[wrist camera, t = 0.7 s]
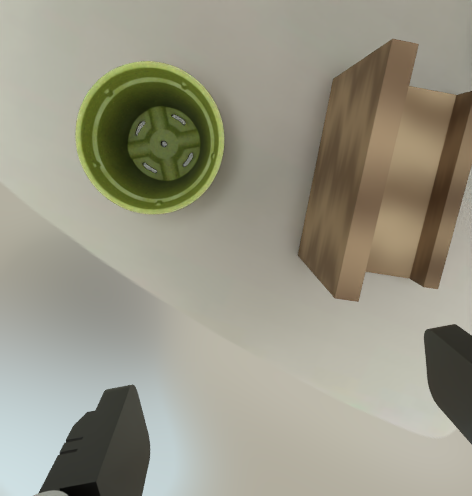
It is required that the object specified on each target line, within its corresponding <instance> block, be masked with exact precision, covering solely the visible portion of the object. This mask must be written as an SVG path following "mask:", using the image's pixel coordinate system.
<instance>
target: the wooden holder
mask: <svg viewBox="0 0 472 496" xmlns="http://www.w3.org/2000/svg"><path fill="white" fill-rule="evenodd" d="M418 45H419V44H416V43H411V42H406V41H401V40H396V39H392V40H390V41H389V42H387V43H386V44H384V45H383V46H381V47H380V48H378V49H377V50H375V51H374V52H372V53H371V54H369V55H368V56H367V57H365V58H364V59H362V60H361V61H359V62H358V63H356V64H355V65H353V66H352V67H350V68H349V69H347V70H346V71H344V72H343V73H341V74H340V75H338V76H337V77H335V78H334V79H333V82H332V87H331V92H330V97H329V102H328V107H327V112H326V117H325V122H324V127H323V132H322V137H321V142H320V147H319V152H318V157H317V162H316V167H315V172H314V177H313V182H312V187H311V192H310V197H309V202H308V207H307V212H306V217H305V222H304V227H303V231H302V236H301V241H300V246H299V251H298V256H299V257H300V259H301V260H302V261H303V262H304V263H305V264H306V266H307V267H308V268H309V269H310V270H311V271H312V272H313V274H314V275H315V276H316V277H317V278H318V279H319V281H320V282H321V283H322V284H323V285H324V286H325V287H326V289H327V290H328V291H329V292H330V293H331V294H332V296H333V297H334V298H337V299H343V300H350V301H357V302H358V301H359V297H360V292H361V288H362V284H363V280H364V275H365V272H371V273H378V274H384V275H391V276H397V277H404V278H410V279H411V280H413V281H415V282H416V283H418V284H419V285H421V286H423V287H427V288H433V289H438V287H439V283H440V280H441V276H442V272H443V269H444V265H445V261H446V258H447V254H448V250H449V246H450V243H451V239H452V235H453V232H454V228H455V224H456V221H457V217H458V213H459V209H460V206H461V202H462V198H463V195H464V191H465V187H466V184H467V180H468V176H469V173H470V169H471V165H472V91H470V92H466V93H463V94H459V95H453V94H448V93H443V92H438V91H432V90H427V89H422V88H417V87H412V86H409V83H410V79H411V75H412V71H413V66H414V62H415V58H416V54H417V49H418Z"/></svg>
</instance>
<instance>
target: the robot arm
mask: <svg viewBox="0 0 472 496" xmlns="http://www.w3.org/2000/svg"><path fill="white" fill-rule="evenodd" d="M424 344H425V355H426V366H427V378H428V385H429V389H430V392H431V395H432V397H433V399H434V401H435V402H436V404H437V405H438V407H439V408H440V409H441V410H442V411H443V412H444V413H445V414H446V416H447V417H448V418H449V419H450V420H451V421H452V422H453V424H454V425H455V426H456V427H457V428H458V429H459V430H460V432H461V433H462V434H463V435H464V436H465V437H466V438H467V440H468V441H469V442H470V443H471V444H472V336H471V335H470V334H469V333H467V332H466V331H464V330H463V329H462V328H460V327H459V326H457V325H455V324H453V325H447V326H442V327H437V328H432V329H427V330H426V331H425V333H424ZM149 460H150V441H149V435H148V431H147V427H146V423H145V419H144V415H143V411H142V408H141V404H140V400H139V396H138V393H137V390H136V387H135V386H134V385H128V386H123V387H118V388H112V389H107V390H105V391H104V393H103V395H102V397H101V400H100V402H99V404H98V407H97V408H96V410H95V411H91V412H87V413H86V414H85V415H84V416H83V417H82V418H81V419H80V420H79V421H78V422H77V423H76V424H75V425H74V426H73V427H72V430H71V431H70V433H69V435H68V437H67V439H66V443H64V445H63V447H62V449H61V451H60V455H58V456H57V458H56V460H55V462H54V464H53V466H52V468H51V470H50V472H49V474H48V476H47V478H46V480H45V482H44V484H43V486H42V488H41V489H40V491H39V493H38V494H36V495H34V496H142V493H143V488H144V483H145V478H146V474H147V469H148V464H149Z"/></svg>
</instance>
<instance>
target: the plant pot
mask: <svg viewBox="0 0 472 496" xmlns="http://www.w3.org/2000/svg"><path fill="white" fill-rule="evenodd" d="M173 114H175V115H178V116H179V117H181V118H183V119H184V120H185V122H186V124H185V125H183V124H182V123H181V122H179V121H178V120H177V119H175V118H173V117H171V115H173ZM142 121H145V125H144V126H143V127H142V128H141V130H140V132H139V133H138V135H137V136H136V129H137V126H138V125H139V124H140V122H142ZM75 139H76V148H77V153H78V157H79V160H80V163H81V165H82V167H83V170H84V171H85V173H86V175H87V177H88V178H89V180H90V181H91V183H92V184H93V185H94V187H95V188H96V189H97V190H98V191H99V192H100V193H101V194H102V195H103V196H105V197H106V198H107V199H108V200H110V201H112V202H113V203H115V204H117V205H118V206H120V207H122V208H125V209H127V210H130V211H133V212H137V213H141V214H164V213H170V212H174V211H177V210H180V209H182V208H184V207H186V206H188V205H190V204H191V203H193V202H194V201H195V200H197V199H198V198H199V197H200V196H201V195H202V194H203V193H204V192H205V191H206V190H207V189H208V188H209V186H210V185H211V183H212V182H213V180H214V178H215V177H216V175H217V172H218V170H219V167H220V165H221V161H222V157H223V152H224V128H223V123H222V119H221V115H220V112H219V110H218V107H217V105H216V103H215V102H214V100H213V98H212V97H211V95H210V94H209V92H208V91H207V90H206V89H205V87H204V86H203V85H202V84H201V83H200V82H198V81H197V80H196V79H195V78H194V77H192V76H191V75H190V74H188V73H186V72H185V71H183V70H181V69H179V68H177V67H175V66H172V65H169V64H165V63H160V62H154V61H153V62H151V61H141V62H134V63H129V64H126V65H122V66H119V67H117V68H115V69H113V70H111V71H109V72H108V73H107V74H105V75H104V76H102V77H101V78H100V79H99V80H98V81H97V82H96V83H95V84H94V85H93V86H92V88H91V89H90V90H89V92H88V93H87V95H86V96H85V98H84V100H83V102H82V105H81V107H80V109H79V112H78V116H77V121H76V133H75ZM162 141H166V143H167V146H166V147H163V146H161V142H162ZM191 152H192V153H193V158H192V160H191V161H190V163H189V164H188V165H187V166H186V167H183V163H184V162H185V161H186V160H187V158H188V157H189V154H190V153H191ZM144 162H145V163H146V164H148V165H149V166H150V167H152V168H154V169H156V170H157V172H156V173H153V172H152V171H150V170H147V169H146V168H145V167H144V166H143V163H144Z"/></svg>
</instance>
